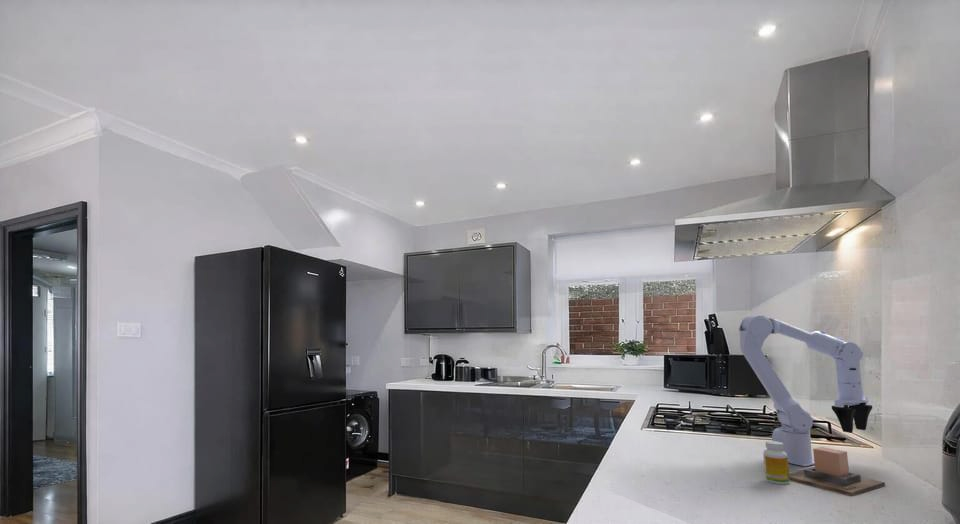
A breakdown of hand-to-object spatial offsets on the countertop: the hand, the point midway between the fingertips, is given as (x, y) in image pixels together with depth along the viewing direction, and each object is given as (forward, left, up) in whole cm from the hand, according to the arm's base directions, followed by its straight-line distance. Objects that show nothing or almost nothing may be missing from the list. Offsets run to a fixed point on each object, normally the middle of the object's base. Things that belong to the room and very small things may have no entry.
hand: (854, 430), depth 143 cm
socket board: (+5, -24, -9) cm, 26 cm away
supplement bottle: (-2, -36, -10) cm, 37 cm away
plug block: (+5, -24, -9) cm, 26 cm away
